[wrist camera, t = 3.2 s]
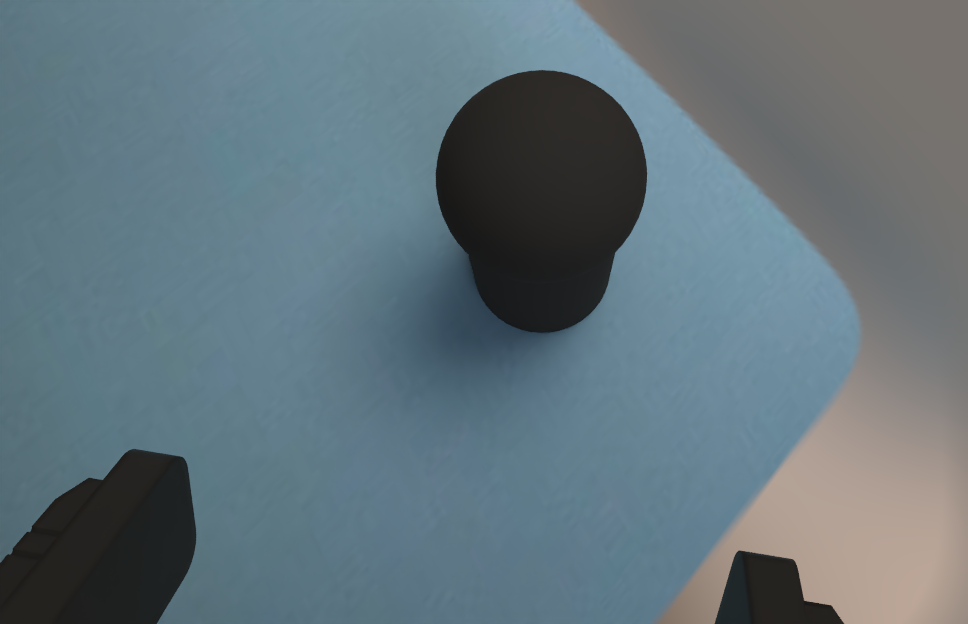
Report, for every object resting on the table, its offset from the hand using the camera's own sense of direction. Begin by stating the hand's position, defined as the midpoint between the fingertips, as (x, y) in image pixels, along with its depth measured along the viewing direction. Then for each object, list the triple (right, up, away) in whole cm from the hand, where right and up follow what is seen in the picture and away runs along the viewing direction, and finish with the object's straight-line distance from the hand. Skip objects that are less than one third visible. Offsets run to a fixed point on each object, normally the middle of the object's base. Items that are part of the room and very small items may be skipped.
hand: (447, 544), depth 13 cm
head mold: (+2, +5, +16) cm, 17 cm away
